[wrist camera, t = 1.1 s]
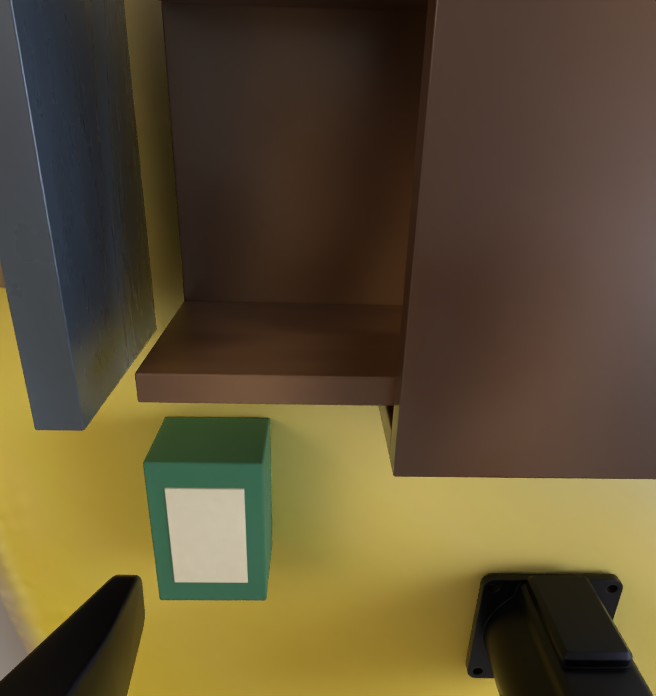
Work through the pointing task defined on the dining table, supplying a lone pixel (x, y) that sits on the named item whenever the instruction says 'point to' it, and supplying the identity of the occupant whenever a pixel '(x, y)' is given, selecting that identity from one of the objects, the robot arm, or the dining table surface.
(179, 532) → the packet
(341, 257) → the drawer
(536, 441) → the cabinet
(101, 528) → the dining table surface
